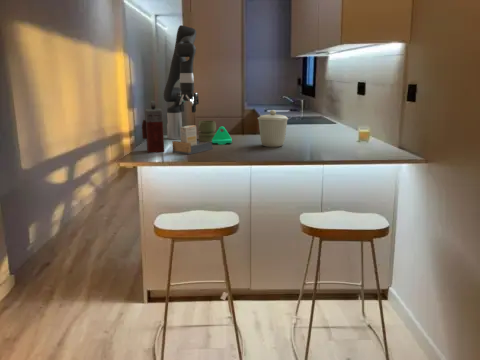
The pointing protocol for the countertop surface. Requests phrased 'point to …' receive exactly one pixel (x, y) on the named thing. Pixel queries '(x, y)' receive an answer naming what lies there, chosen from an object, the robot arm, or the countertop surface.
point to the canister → (272, 129)
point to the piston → (206, 130)
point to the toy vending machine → (153, 129)
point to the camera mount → (221, 137)
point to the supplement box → (188, 134)
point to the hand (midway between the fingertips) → (187, 112)
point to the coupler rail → (197, 147)
